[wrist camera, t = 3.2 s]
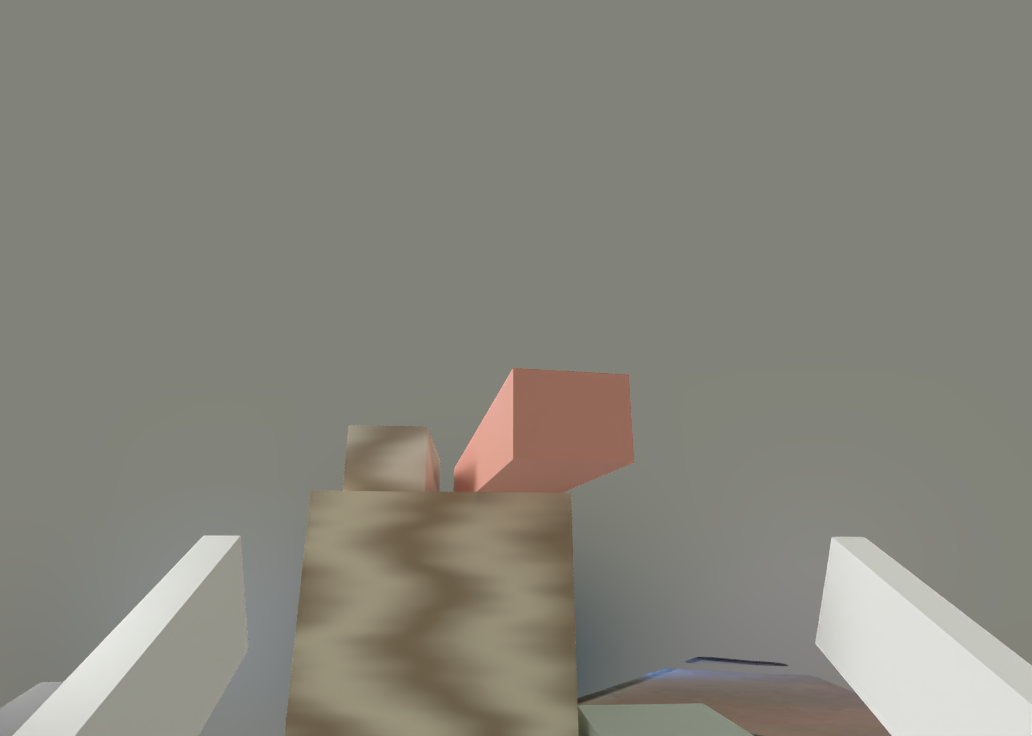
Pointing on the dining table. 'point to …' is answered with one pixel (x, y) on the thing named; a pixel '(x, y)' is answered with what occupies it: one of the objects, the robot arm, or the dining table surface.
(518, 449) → the stub
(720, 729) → the block
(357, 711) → the tall wood-grain block
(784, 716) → the dining table surface
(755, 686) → the dining table surface
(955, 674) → the robot arm
